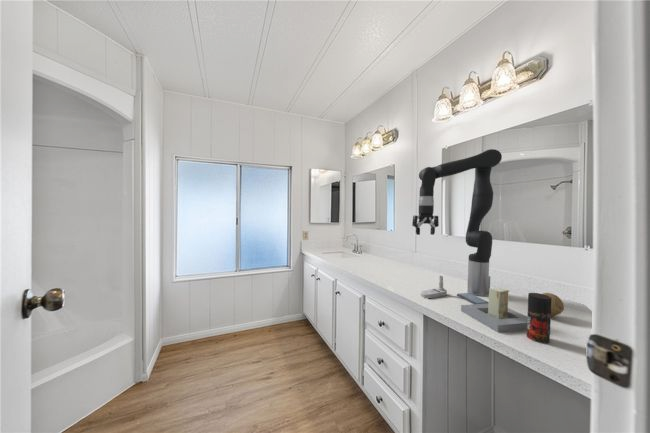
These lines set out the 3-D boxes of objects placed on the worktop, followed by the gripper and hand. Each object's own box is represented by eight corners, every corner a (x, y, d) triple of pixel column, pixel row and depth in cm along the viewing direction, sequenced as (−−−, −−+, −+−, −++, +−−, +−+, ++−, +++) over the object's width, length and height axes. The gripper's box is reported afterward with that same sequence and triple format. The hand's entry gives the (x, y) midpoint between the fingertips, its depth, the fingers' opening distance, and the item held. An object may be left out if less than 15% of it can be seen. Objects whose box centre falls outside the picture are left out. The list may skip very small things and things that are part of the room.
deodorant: (522, 334, 85) (523, 292, 85) (537, 333, 86) (539, 292, 85) (538, 343, 80) (540, 299, 79) (554, 343, 80) (556, 298, 80)
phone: (468, 294, 124) (469, 292, 124) (490, 305, 111) (490, 302, 111) (456, 295, 123) (457, 293, 123) (477, 305, 110) (477, 303, 110)
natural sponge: (566, 324, 93) (568, 299, 93) (536, 318, 98) (537, 294, 98) (559, 315, 101) (560, 292, 101) (532, 310, 106) (533, 288, 105)
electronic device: (418, 277, 122) (440, 274, 127) (418, 296, 123) (440, 292, 128) (426, 280, 117) (449, 276, 122) (426, 300, 118) (449, 295, 123)
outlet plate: (496, 308, 108) (496, 302, 108) (538, 328, 90) (538, 321, 90) (461, 310, 105) (461, 305, 104) (497, 332, 87) (497, 325, 87)
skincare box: (498, 322, 94) (500, 292, 94) (487, 318, 98) (488, 288, 98) (508, 319, 97) (509, 289, 96) (496, 315, 101) (497, 286, 100)
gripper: (433, 205, 135) (432, 233, 136) (410, 204, 132) (409, 233, 133) (442, 205, 128) (441, 235, 128) (418, 204, 125) (417, 235, 126)
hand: (425, 234), depth 131 cm, fingers open, 8 cm apart
